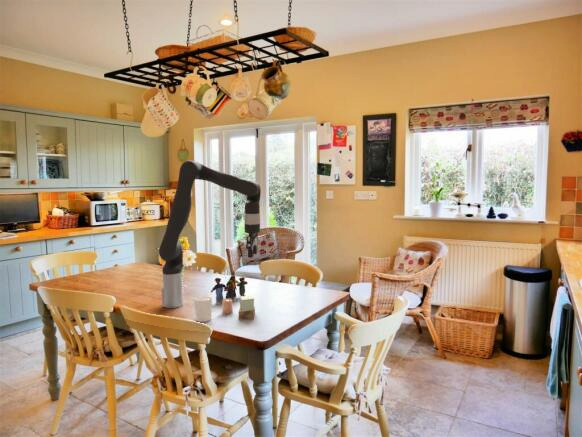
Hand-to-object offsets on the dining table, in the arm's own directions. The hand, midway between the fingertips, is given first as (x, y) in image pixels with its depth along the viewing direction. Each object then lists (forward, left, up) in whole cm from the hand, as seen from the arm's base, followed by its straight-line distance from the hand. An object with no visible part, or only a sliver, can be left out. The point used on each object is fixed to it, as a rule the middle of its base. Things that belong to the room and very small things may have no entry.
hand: (252, 255), depth 203 cm
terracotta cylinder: (-11, -6, -27) cm, 30 cm away
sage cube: (0, -11, -23) cm, 26 cm away
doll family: (-16, +14, -27) cm, 35 cm away
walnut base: (0, -11, -27) cm, 29 cm away
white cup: (-19, -17, -27) cm, 38 cm away
